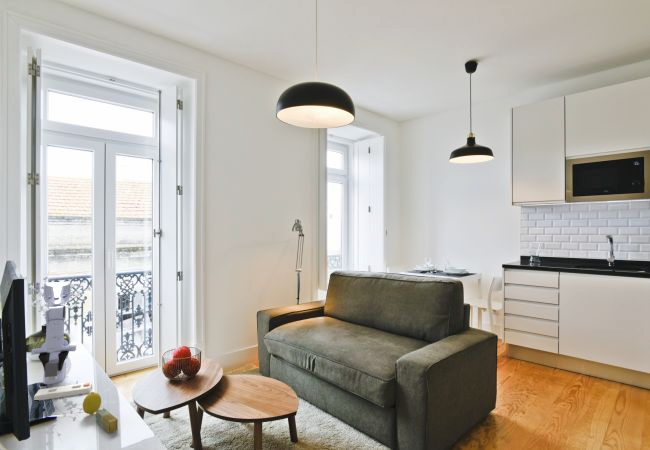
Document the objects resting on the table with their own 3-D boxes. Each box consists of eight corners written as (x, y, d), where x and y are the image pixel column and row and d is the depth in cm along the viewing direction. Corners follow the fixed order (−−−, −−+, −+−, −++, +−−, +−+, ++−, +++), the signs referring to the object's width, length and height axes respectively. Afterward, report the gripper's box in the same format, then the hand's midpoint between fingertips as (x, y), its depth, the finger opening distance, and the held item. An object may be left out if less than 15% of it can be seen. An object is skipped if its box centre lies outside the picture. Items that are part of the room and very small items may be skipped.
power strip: (38, 397, 143) (39, 387, 143) (91, 389, 151) (92, 380, 151) (33, 404, 137) (34, 394, 137) (89, 395, 144) (89, 386, 145)
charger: (49, 377, 144) (50, 360, 145) (61, 376, 146) (61, 359, 146) (44, 382, 139) (45, 364, 140) (56, 380, 141) (57, 363, 141)
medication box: (95, 422, 122) (95, 410, 123) (104, 419, 125) (104, 407, 125) (109, 434, 115) (109, 421, 115) (118, 430, 117) (118, 418, 117)
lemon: (91, 419, 124) (92, 395, 124) (78, 417, 125) (79, 394, 125) (104, 412, 129) (105, 389, 130) (91, 410, 130) (92, 388, 131)
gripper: (28, 340, 137) (26, 376, 137) (72, 337, 142) (71, 371, 142) (36, 336, 144) (34, 370, 143) (78, 333, 149) (77, 366, 148)
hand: (53, 370), depth 143 cm, fingers closed on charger, 4 cm apart
